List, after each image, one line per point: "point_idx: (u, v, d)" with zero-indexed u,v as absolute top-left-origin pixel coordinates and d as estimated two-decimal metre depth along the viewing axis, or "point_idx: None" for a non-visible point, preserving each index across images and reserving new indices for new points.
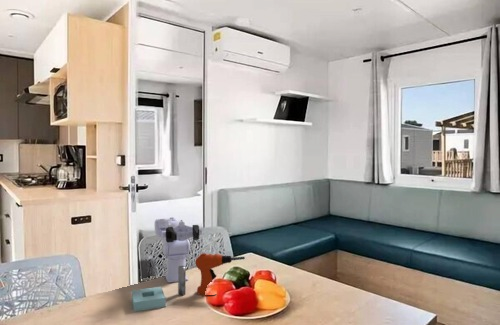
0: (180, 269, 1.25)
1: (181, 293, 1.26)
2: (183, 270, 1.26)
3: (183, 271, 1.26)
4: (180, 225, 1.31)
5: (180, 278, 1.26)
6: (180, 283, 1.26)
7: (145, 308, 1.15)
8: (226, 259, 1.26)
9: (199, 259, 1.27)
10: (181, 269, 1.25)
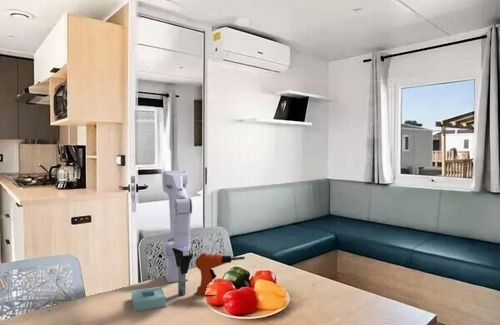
0: None
1: (181, 293, 1.26)
2: None
3: None
4: None
5: (180, 278, 1.26)
6: (180, 283, 1.26)
7: (145, 308, 1.15)
8: (226, 259, 1.26)
9: (199, 259, 1.27)
10: None
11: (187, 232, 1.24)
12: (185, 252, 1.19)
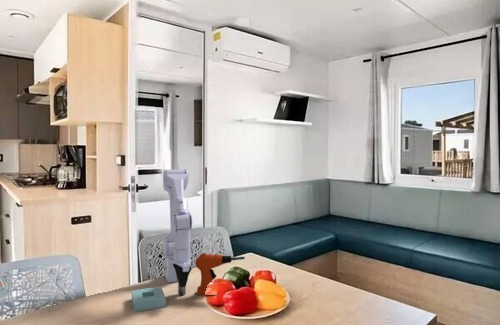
0: None
1: (181, 293, 1.26)
2: None
3: None
4: None
5: None
6: None
7: (145, 308, 1.15)
8: (226, 259, 1.26)
9: (199, 259, 1.27)
10: None
11: (187, 247, 1.25)
12: (185, 268, 1.20)
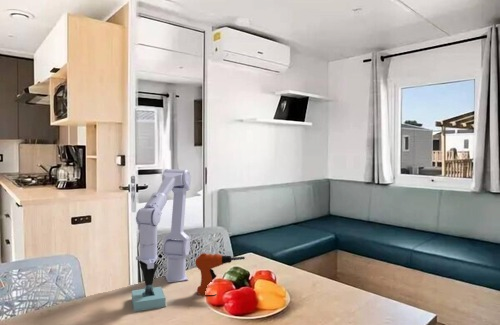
0: None
1: (148, 292, 1.18)
2: None
3: None
4: None
5: None
6: None
7: (145, 308, 1.15)
8: (226, 259, 1.26)
9: (199, 259, 1.27)
10: None
11: (149, 244, 1.16)
12: (149, 265, 1.12)
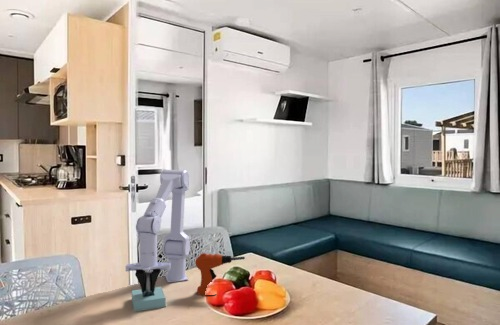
0: None
1: None
2: None
3: None
4: (145, 269, 1.16)
5: (151, 284, 1.19)
6: (151, 289, 1.19)
7: (145, 308, 1.15)
8: (226, 259, 1.26)
9: (199, 259, 1.27)
10: None
11: (149, 252, 1.16)
12: (170, 266, 1.20)
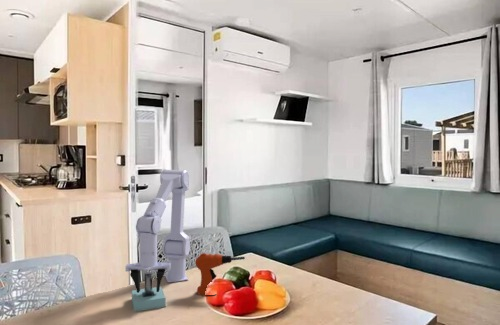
0: (151, 275, 1.19)
1: None
2: None
3: None
4: None
5: (151, 284, 1.19)
6: (151, 290, 1.19)
7: (145, 308, 1.15)
8: (226, 259, 1.26)
9: (199, 259, 1.27)
10: None
11: (149, 252, 1.16)
12: (170, 266, 1.20)
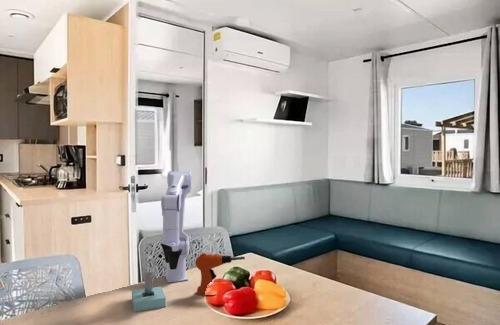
0: (151, 275, 1.19)
1: None
2: None
3: None
4: None
5: (151, 285, 1.19)
6: (151, 290, 1.19)
7: (145, 308, 1.15)
8: (226, 259, 1.26)
9: (199, 259, 1.27)
10: None
11: (174, 228, 1.24)
12: (174, 248, 1.20)
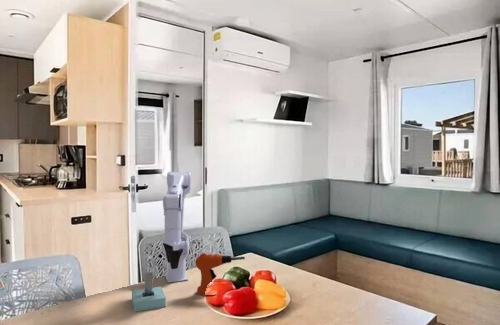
0: (151, 275, 1.19)
1: None
2: None
3: None
4: None
5: (151, 285, 1.19)
6: (151, 290, 1.19)
7: (145, 308, 1.15)
8: (226, 259, 1.26)
9: (199, 259, 1.27)
10: None
11: (176, 228, 1.24)
12: (175, 247, 1.20)
